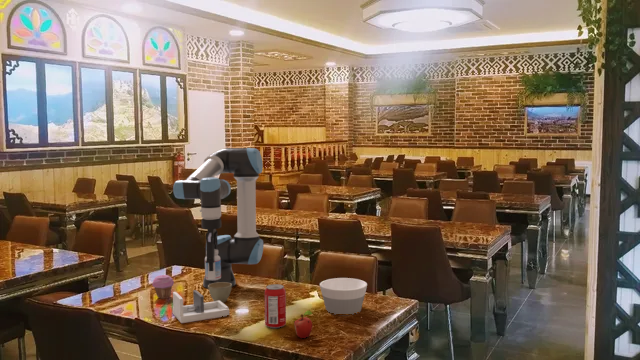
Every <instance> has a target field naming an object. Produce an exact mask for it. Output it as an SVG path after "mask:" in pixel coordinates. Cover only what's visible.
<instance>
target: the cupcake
mask: <svg viewBox="0 0 640 360" xmlns="http://www.w3.org/2000/svg"><path fill="white" fill-rule="evenodd" d="M174 284H175V283H174V280H173V277H171V276H170V275H167V274H160V275H156V276H155V278H154V279H153V281H152V287H153V288H154V291H155V294H156V296H157V298H159V299H167V298H170V297H171V295H172V288H173V286H174Z"/></svg>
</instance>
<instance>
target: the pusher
mask: <svg viewBox="0 0 640 360" xmlns="http://www.w3.org/2000/svg"><path fill="white" fill-rule="evenodd" d="M192 293H193V294H192V295H193V296H192V297H193V304H194V306H193V307H187V310H188V311H191V310H194V311H195V312H196V313H202V312H204V303H205V299H204V297H205V296H204V295H203V294H201V293H200V292H199V291H198V290H197V289H194V290H193V292H192Z"/></svg>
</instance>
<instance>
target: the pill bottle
mask: <svg viewBox="0 0 640 360" xmlns="http://www.w3.org/2000/svg"><path fill="white" fill-rule="evenodd" d="M206 255H207V251H206V250H205V257H204V277H205V278H206V280H218V279H220V278H221V259H220V256H218V250H217V249H215V250H214V260H215V277H216V279H208V263H206V261H207V256H206Z"/></svg>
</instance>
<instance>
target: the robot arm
mask: <svg viewBox="0 0 640 360" xmlns="http://www.w3.org/2000/svg"><path fill="white" fill-rule="evenodd" d="M263 164H264V163H263V158H262V155H261V152H260V150H259V149H257V148H255V147H237V148H236V147H235V148H234V147H227V148H226V147H225V148H220V149H219V150H216V151H214V152H213V153H211V154H209V155H208V156H207V157H206V158H205V159H204V160H203V164H201V165H200V166H199V167H198V168H197V169H196V170H195V171H194V172H192V173H191V174H190V175H189V176H188V177H187V178H186V179H184V180H183V179H181V180H176V181H174V183H173V187H172V192H173V195H174V198H176V199H179V200H180V199H181V200H200V209H199V212H200V213H201V214H200V215H201V218H202V219H201V220H200V221H201V228H202V229H203V230H207V233H205V242H206V243H205V252H206V251H207V255H206V254H205V257H206V256H207V261H206V263H208V279H216V277H215V260H214V250H215V249H217V250H218V256H220V259H221V278H220V279H218V280H206V278H205V276H204V277H203V282H202V286H203V287H204V288H205V289H208V285H209V284H212V283H217V282H227V283H231V284H232V287H235V286H236V277H235V275H234V271H233V269H232V267H233V266H232V264H234V265H235V264H236V265H238V264H239V265H249V266H250V265H257V264H258V263H259V262H260V261H261V259H262V256H263V252H264V239H261V238H260V234H259V233H258V232H257V212H256V211H257V208H256V206H257V205H256V203H257V202H256V201H257V198H256V197H257V195H256V194H257V191H256V189H257V187H256V183H257V182H256V181H257V180H258V178H260V175H259V174H262V172H263V166H264V165H263ZM221 174H233V178H234V179H235V180H236V201H237V203H236V204H237V205H236V207H237V208H236V210H237V211H236V212H237V217H236V219H237V223H236V224H237V232H236V233H235V234H234V235H233V238H232V236H231V235H229V234H224V235H218V230H217V229H220V228H222V218H221V217H222V202H221V201H222V200H223V199H225V198H227V197H228V196H229V195H230V194H231V191H232V188H231V184H230V183H229V181H228V180H225V179H220V178H219V177H216V176H219V175H221Z"/></svg>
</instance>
